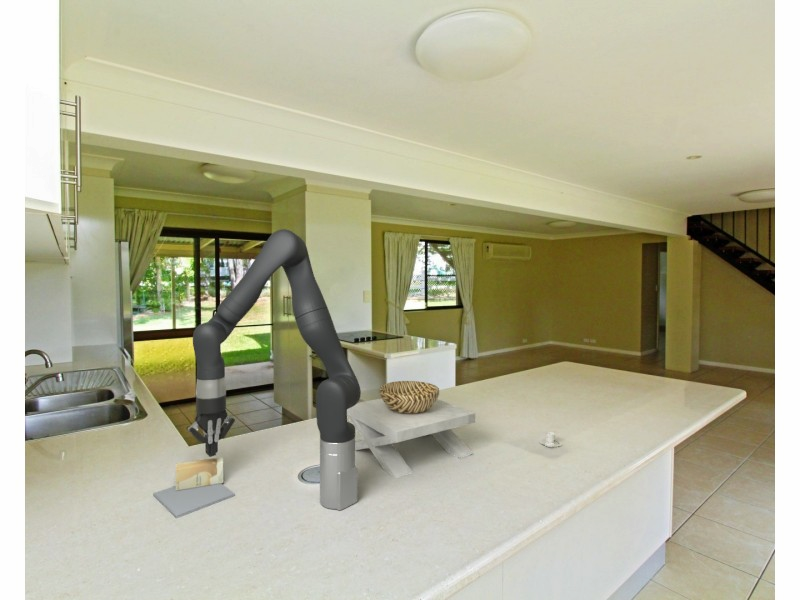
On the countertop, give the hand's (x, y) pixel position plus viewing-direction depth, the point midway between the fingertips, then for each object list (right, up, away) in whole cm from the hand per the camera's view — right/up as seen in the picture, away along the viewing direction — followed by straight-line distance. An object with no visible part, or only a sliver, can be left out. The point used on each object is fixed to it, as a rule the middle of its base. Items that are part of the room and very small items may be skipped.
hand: (211, 455), depth 119 cm
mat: (-3, -10, -3) cm, 11 cm away
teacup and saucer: (+104, -10, +37) cm, 111 cm away
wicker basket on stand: (+55, -9, +30) cm, 64 cm away
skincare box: (+2, -6, +4) cm, 7 cm away
